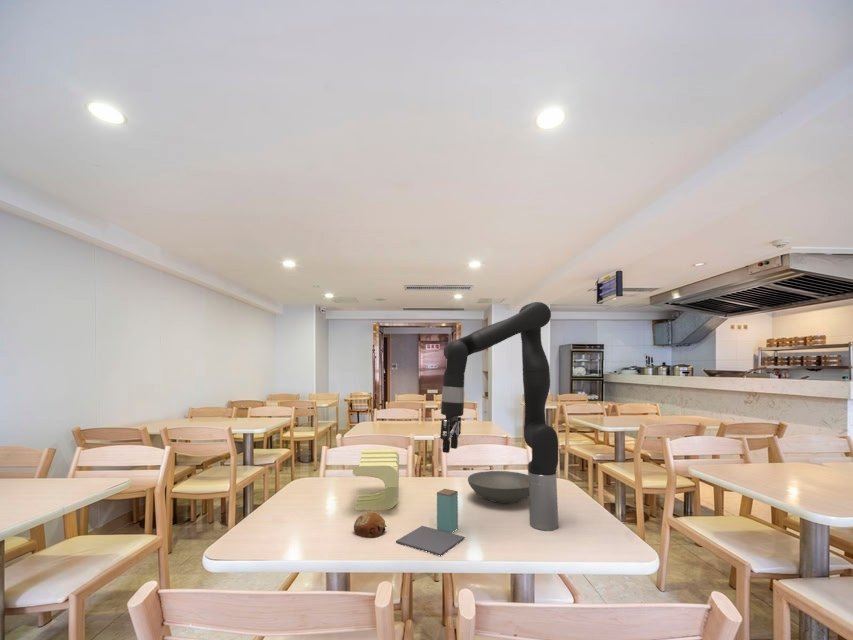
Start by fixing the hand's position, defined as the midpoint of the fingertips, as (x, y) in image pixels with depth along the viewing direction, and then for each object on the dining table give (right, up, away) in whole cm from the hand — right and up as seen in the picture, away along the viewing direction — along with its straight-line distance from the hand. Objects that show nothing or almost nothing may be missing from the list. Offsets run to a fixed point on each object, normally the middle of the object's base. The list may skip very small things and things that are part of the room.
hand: (450, 450), depth 135 cm
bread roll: (-26, -26, -3) cm, 37 cm away
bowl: (+23, -29, +28) cm, 47 cm away
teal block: (-1, -26, -1) cm, 26 cm away
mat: (-6, -25, -10) cm, 27 cm away
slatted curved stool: (-27, -29, +24) cm, 46 cm away
